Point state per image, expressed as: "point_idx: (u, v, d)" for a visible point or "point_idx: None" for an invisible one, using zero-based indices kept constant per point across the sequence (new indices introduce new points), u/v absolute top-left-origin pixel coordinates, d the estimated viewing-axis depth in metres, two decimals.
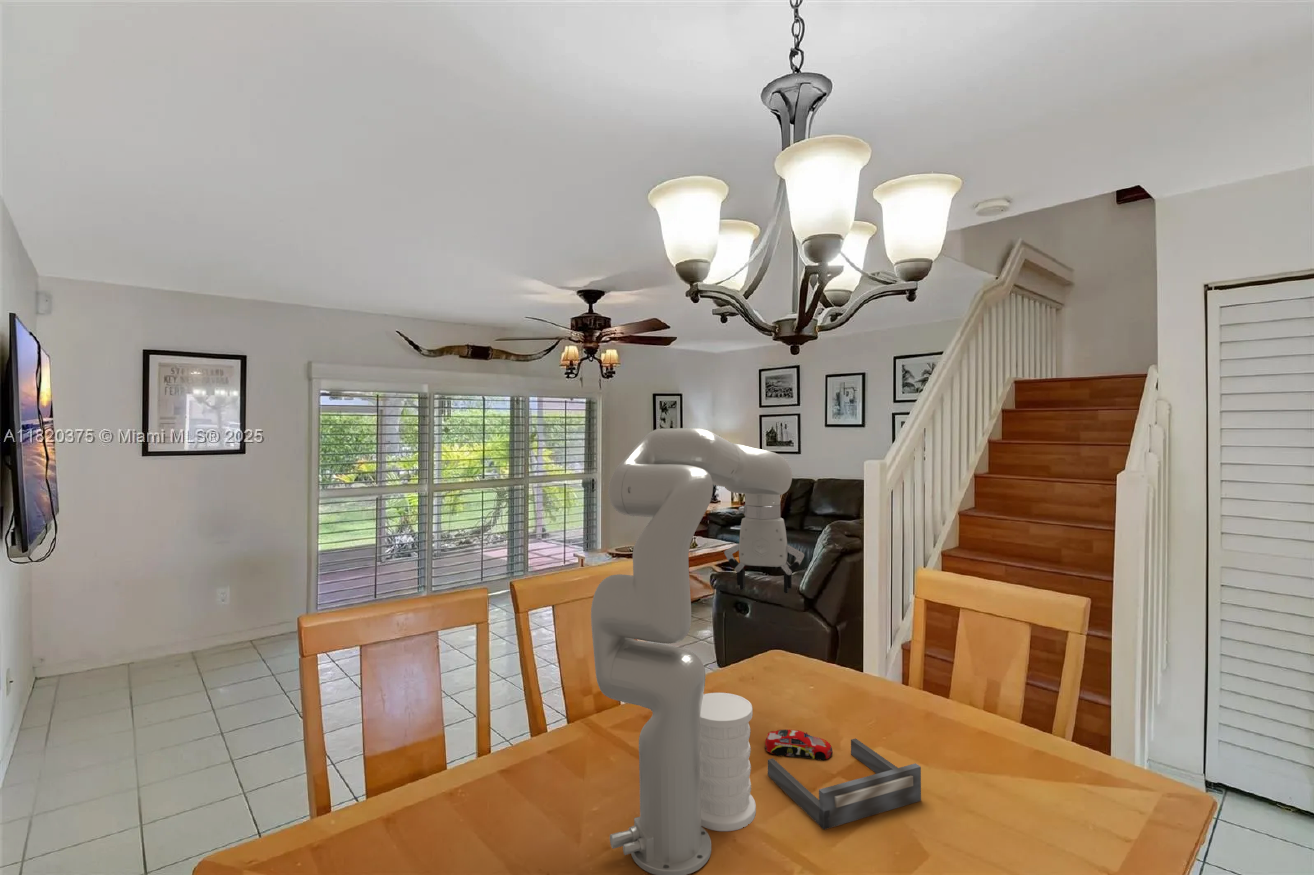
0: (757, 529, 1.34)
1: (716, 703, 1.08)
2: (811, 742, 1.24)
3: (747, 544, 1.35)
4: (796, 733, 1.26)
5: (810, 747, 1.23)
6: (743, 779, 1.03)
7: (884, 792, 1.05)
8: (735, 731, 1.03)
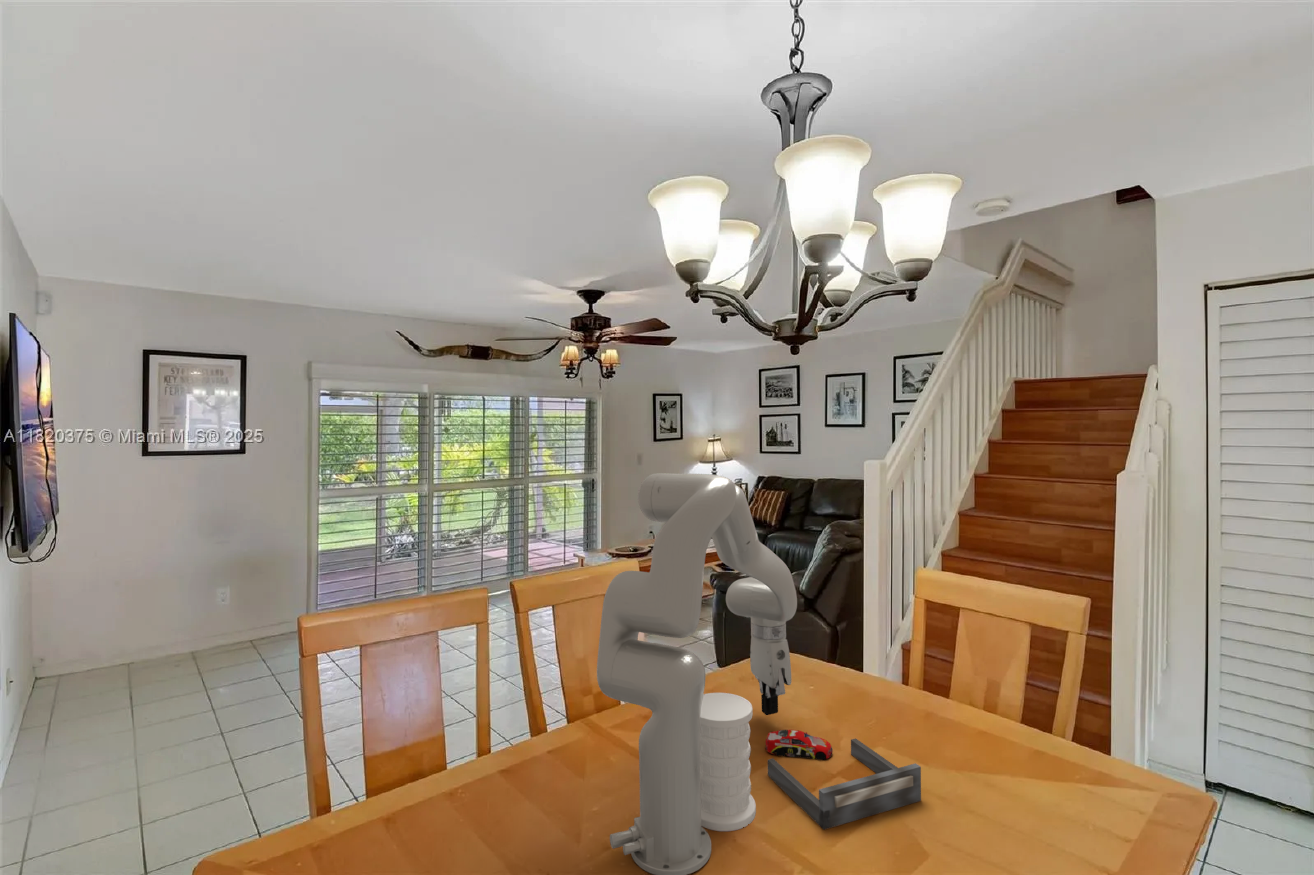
0: None
1: (716, 703, 1.08)
2: (811, 742, 1.24)
3: None
4: (796, 733, 1.26)
5: (810, 747, 1.23)
6: (743, 779, 1.03)
7: (884, 792, 1.05)
8: (735, 731, 1.03)
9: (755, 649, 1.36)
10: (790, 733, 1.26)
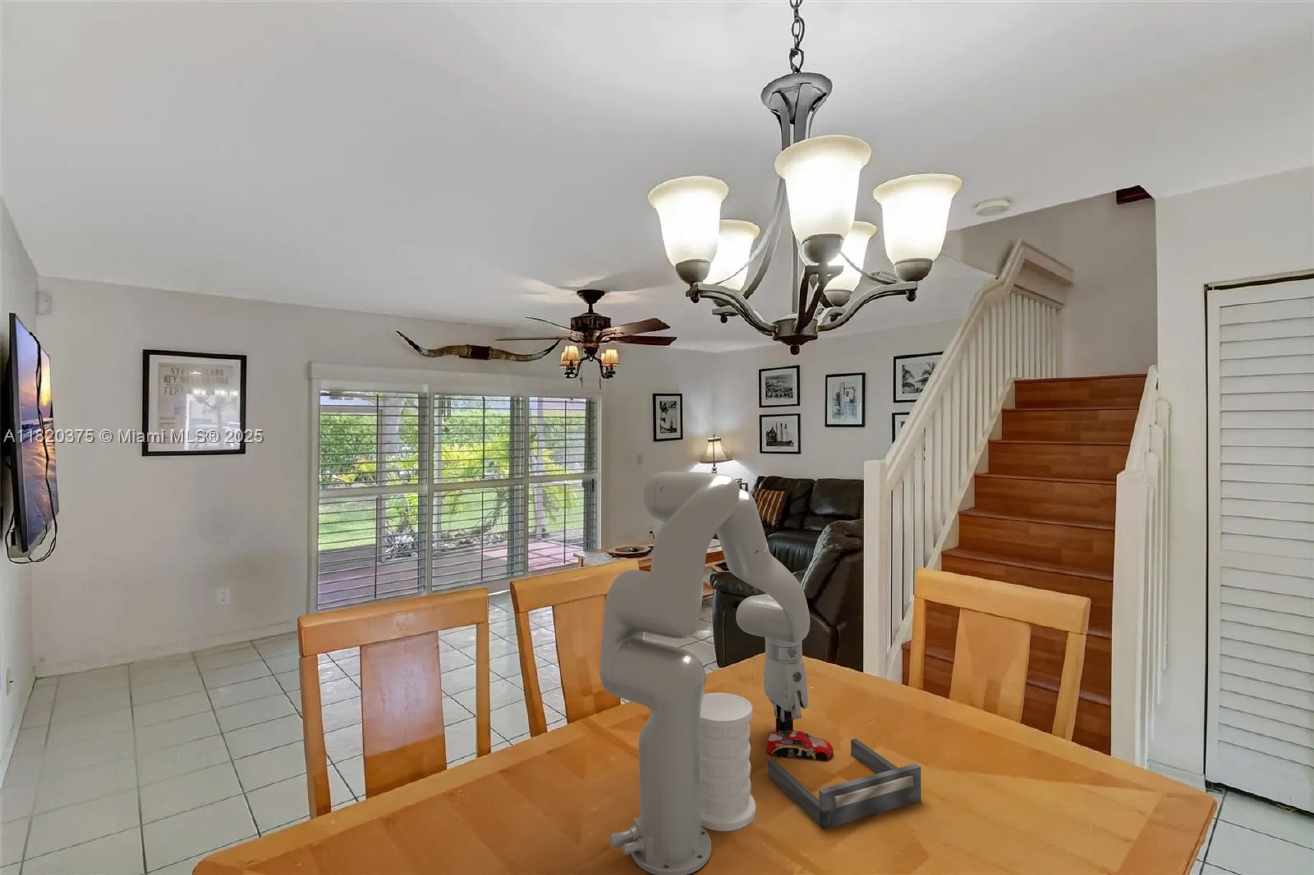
0: None
1: (716, 703, 1.08)
2: (812, 743, 1.24)
3: None
4: (797, 734, 1.26)
5: (811, 748, 1.23)
6: (743, 779, 1.03)
7: (884, 792, 1.05)
8: (735, 731, 1.03)
9: (770, 670, 1.31)
10: (791, 734, 1.26)
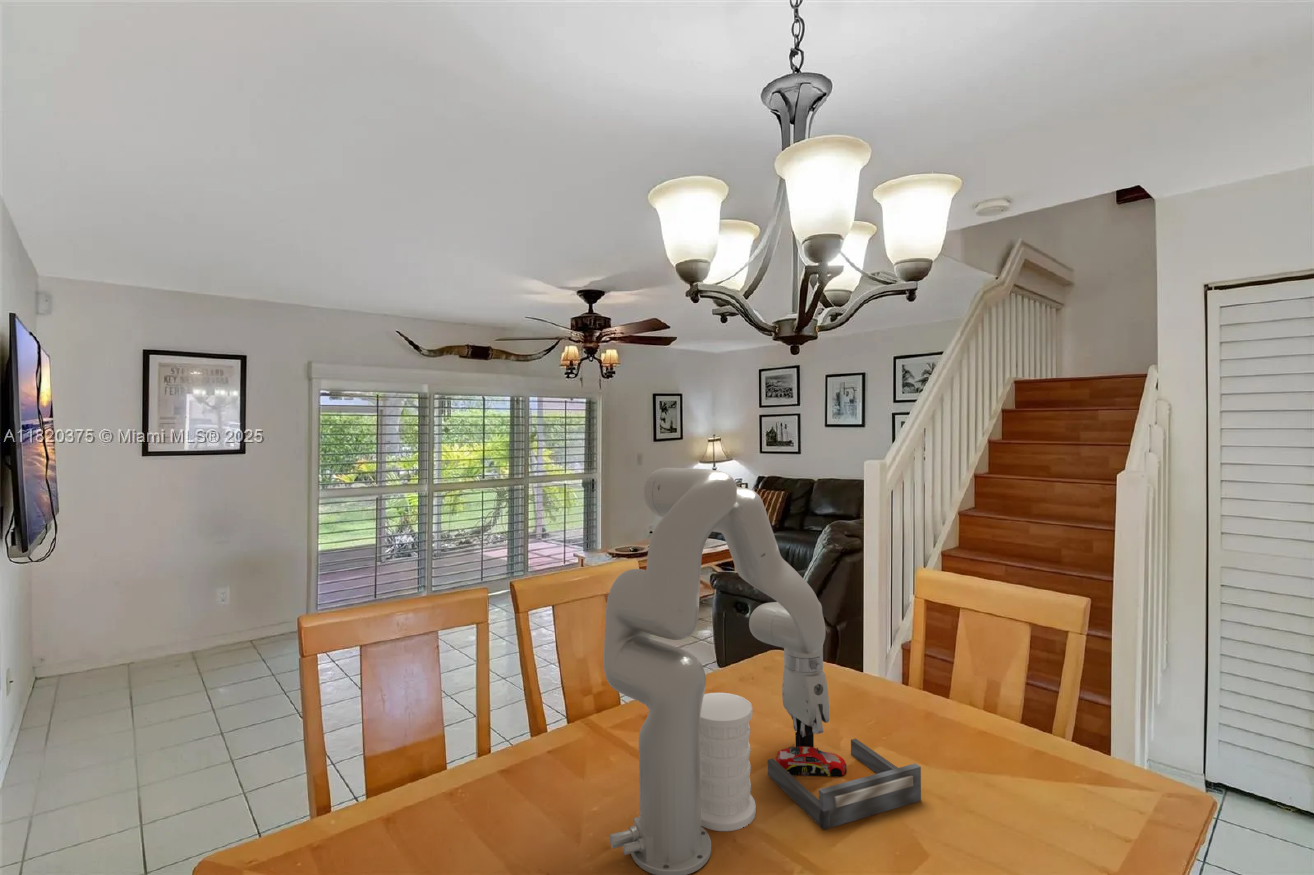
0: None
1: (716, 703, 1.08)
2: (825, 758, 1.18)
3: None
4: (809, 750, 1.19)
5: (825, 764, 1.17)
6: (743, 779, 1.03)
7: (884, 792, 1.05)
8: (735, 731, 1.03)
9: (789, 682, 1.24)
10: (802, 750, 1.19)
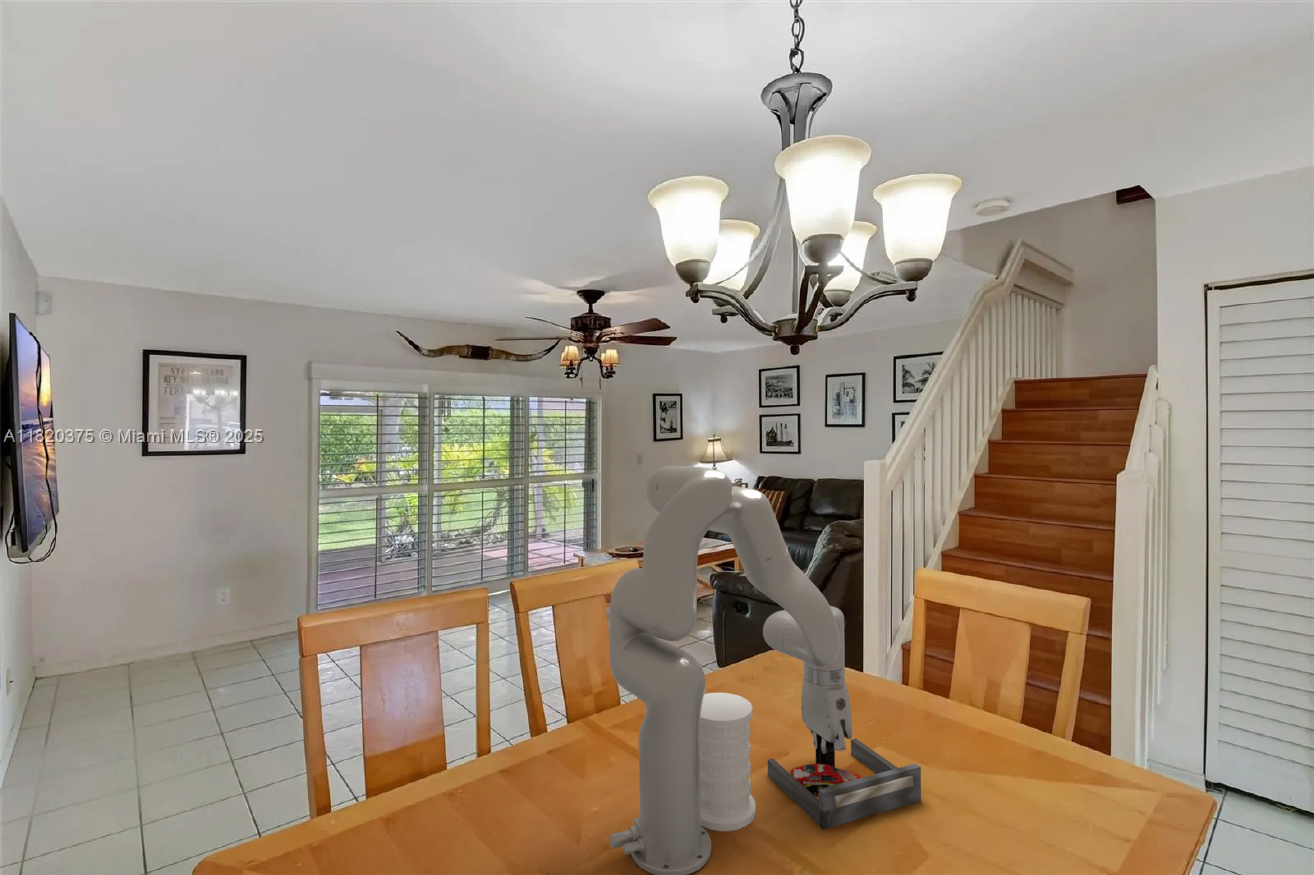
0: None
1: (716, 703, 1.08)
2: (842, 777, 1.12)
3: None
4: (824, 768, 1.13)
5: None
6: (743, 779, 1.03)
7: (884, 792, 1.05)
8: (735, 731, 1.03)
9: (809, 695, 1.18)
10: (818, 768, 1.13)
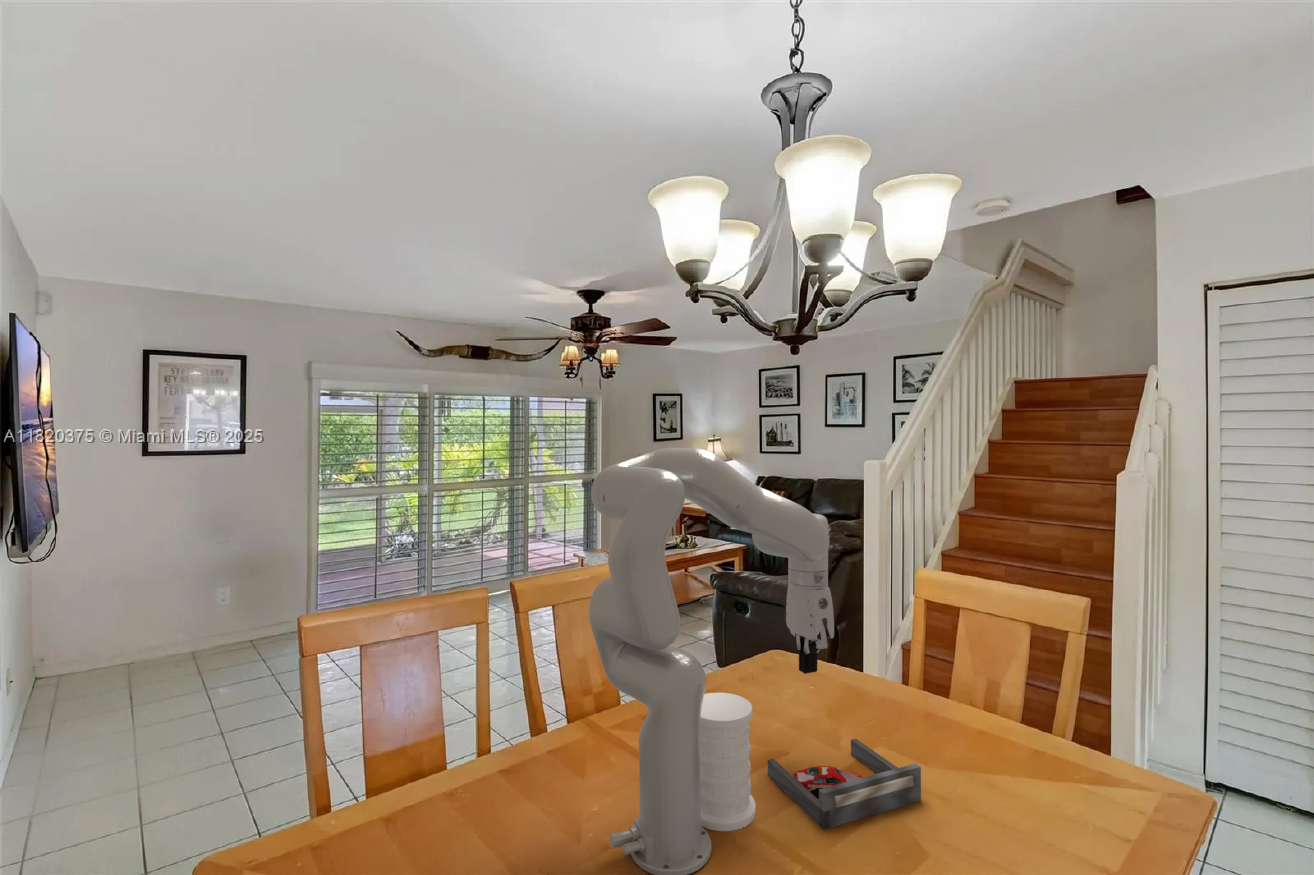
0: None
1: (716, 703, 1.08)
2: (846, 779, 1.11)
3: None
4: (828, 770, 1.12)
5: None
6: (743, 779, 1.03)
7: (884, 792, 1.05)
8: (735, 731, 1.03)
9: (793, 599, 1.22)
10: (821, 771, 1.12)
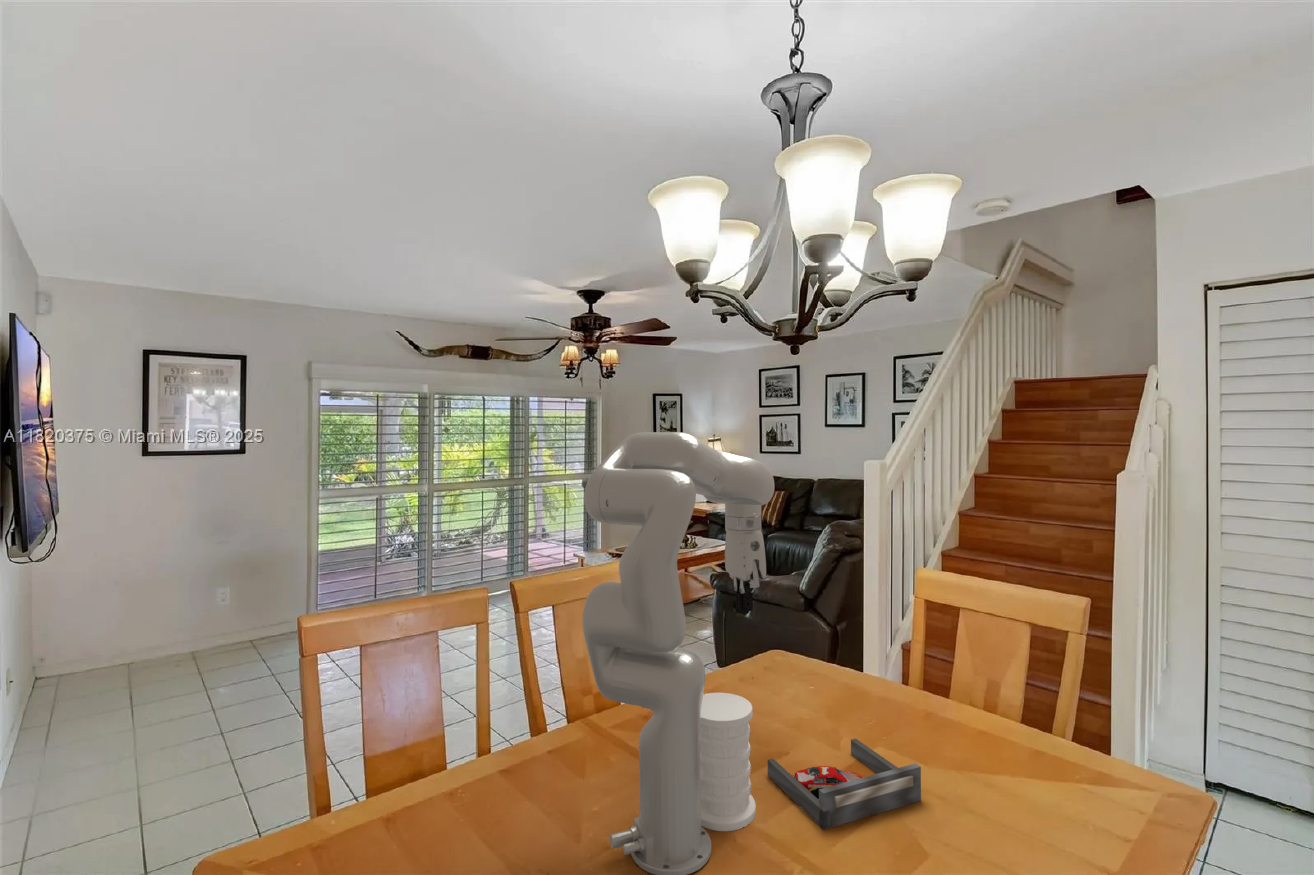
0: None
1: (716, 703, 1.08)
2: (846, 779, 1.11)
3: None
4: (828, 770, 1.12)
5: None
6: (743, 779, 1.03)
7: (884, 792, 1.05)
8: (735, 731, 1.03)
9: (730, 544, 1.31)
10: (822, 771, 1.12)
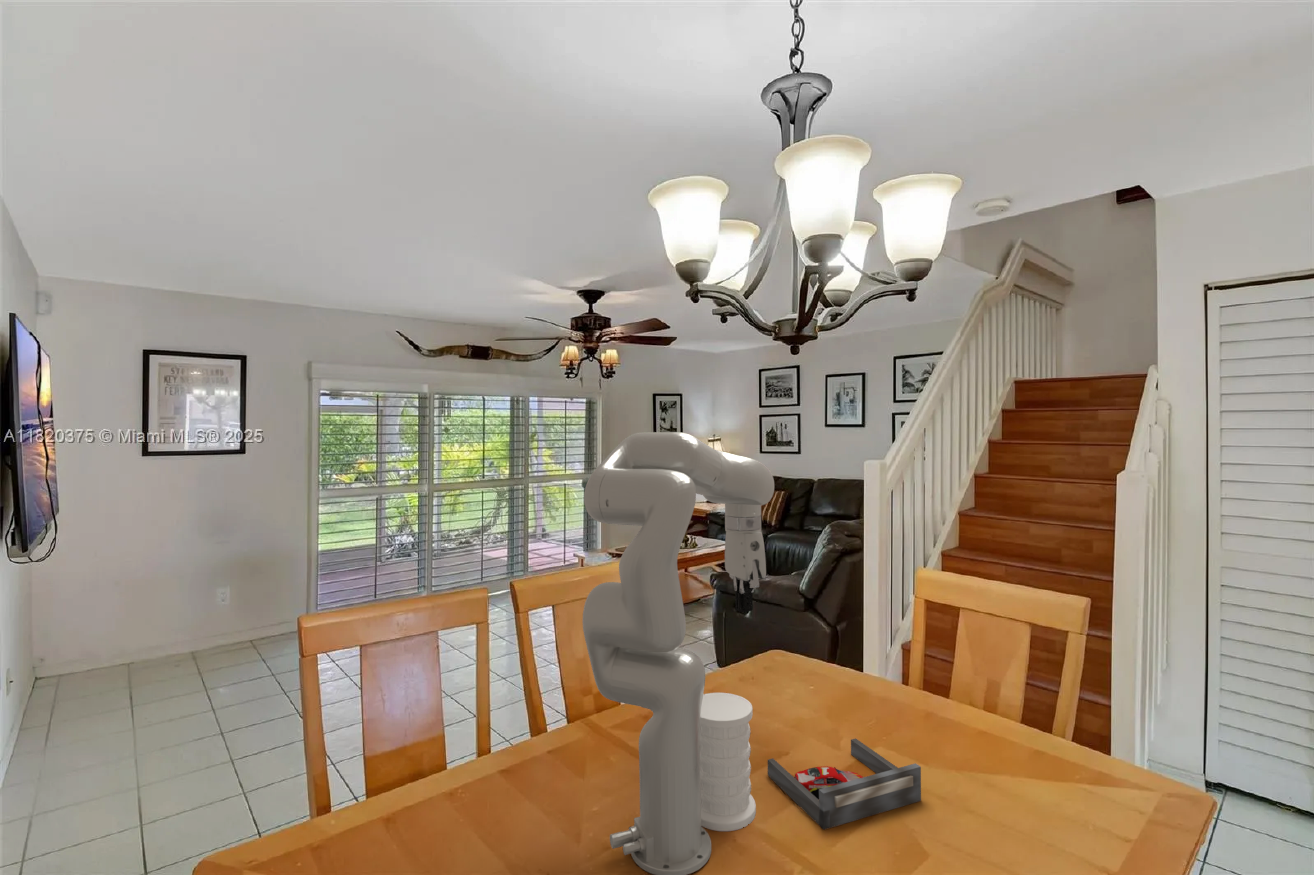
0: None
1: (716, 703, 1.08)
2: (846, 779, 1.11)
3: None
4: (828, 770, 1.12)
5: None
6: (743, 779, 1.03)
7: (884, 792, 1.05)
8: (735, 731, 1.03)
9: (729, 544, 1.31)
10: (822, 771, 1.12)
